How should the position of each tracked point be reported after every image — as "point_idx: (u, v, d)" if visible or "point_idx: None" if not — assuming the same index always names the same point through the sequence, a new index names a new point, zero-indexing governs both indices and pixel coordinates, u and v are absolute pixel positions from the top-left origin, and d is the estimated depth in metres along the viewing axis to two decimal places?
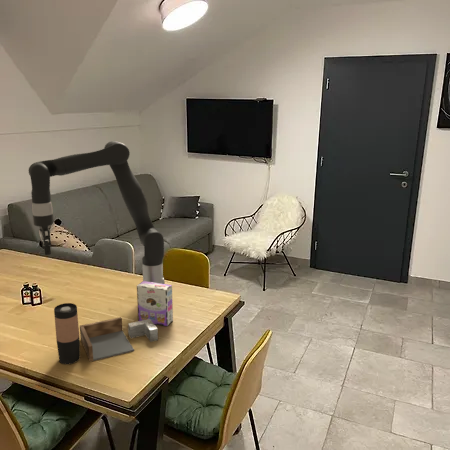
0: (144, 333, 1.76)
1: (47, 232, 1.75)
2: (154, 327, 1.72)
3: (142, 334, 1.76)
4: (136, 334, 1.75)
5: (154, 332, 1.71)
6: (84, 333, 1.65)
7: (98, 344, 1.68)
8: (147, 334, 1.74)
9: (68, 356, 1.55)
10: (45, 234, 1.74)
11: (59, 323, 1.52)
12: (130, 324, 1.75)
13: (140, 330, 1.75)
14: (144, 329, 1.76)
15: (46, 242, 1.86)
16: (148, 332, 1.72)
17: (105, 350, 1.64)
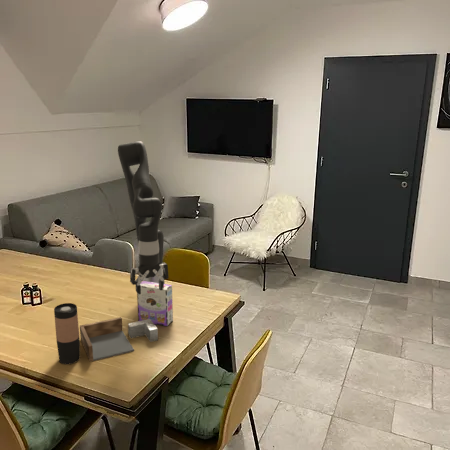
0: (144, 333, 1.76)
1: None
2: (154, 327, 1.72)
3: (142, 334, 1.76)
4: (136, 334, 1.75)
5: (154, 332, 1.71)
6: (84, 333, 1.65)
7: (98, 344, 1.68)
8: (147, 334, 1.74)
9: (68, 356, 1.55)
10: None
11: (59, 323, 1.52)
12: (130, 324, 1.75)
13: (140, 330, 1.75)
14: (144, 329, 1.76)
15: None
16: (148, 332, 1.72)
17: (105, 350, 1.64)
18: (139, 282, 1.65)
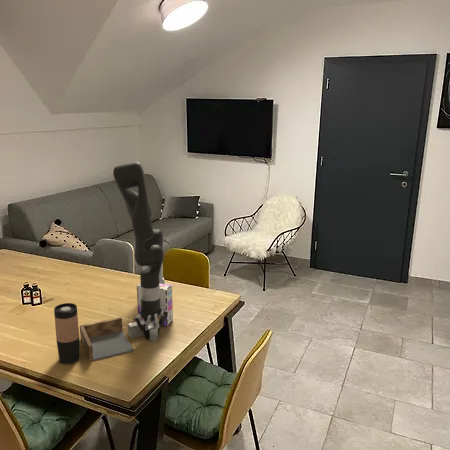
0: None
1: None
2: (154, 327, 1.72)
3: (142, 334, 1.76)
4: (136, 334, 1.75)
5: (154, 332, 1.71)
6: (84, 333, 1.65)
7: (98, 344, 1.68)
8: None
9: (68, 356, 1.55)
10: None
11: (59, 323, 1.52)
12: (130, 324, 1.74)
13: (140, 330, 1.75)
14: None
15: None
16: None
17: (105, 350, 1.64)
18: (146, 327, 1.71)
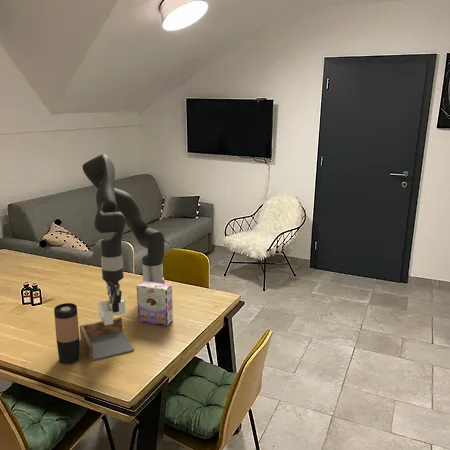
0: None
1: None
2: None
3: None
4: None
5: None
6: (84, 333, 1.65)
7: (98, 344, 1.68)
8: None
9: (68, 356, 1.55)
10: None
11: (59, 323, 1.52)
12: (107, 310, 1.57)
13: None
14: None
15: None
16: (119, 306, 1.65)
17: (105, 350, 1.64)
18: (118, 299, 1.63)
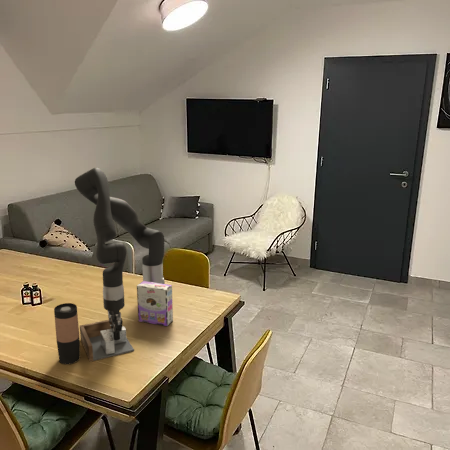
0: None
1: None
2: None
3: None
4: None
5: None
6: (84, 333, 1.65)
7: (98, 344, 1.68)
8: None
9: (68, 356, 1.55)
10: None
11: (59, 323, 1.52)
12: (108, 340, 1.60)
13: None
14: None
15: None
16: (121, 334, 1.68)
17: None
18: None
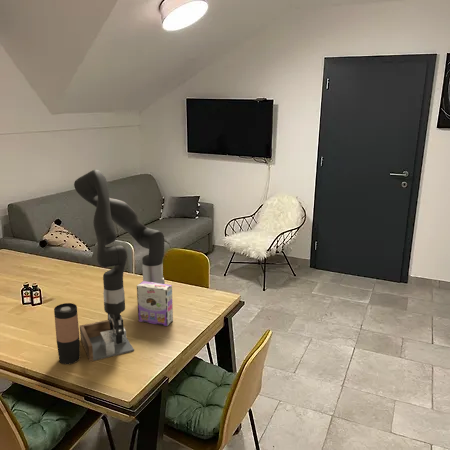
0: None
1: None
2: None
3: None
4: None
5: None
6: (84, 333, 1.65)
7: (98, 344, 1.68)
8: None
9: (68, 356, 1.55)
10: None
11: (59, 323, 1.52)
12: (108, 341, 1.60)
13: None
14: None
15: None
16: None
17: None
18: (122, 330, 1.64)
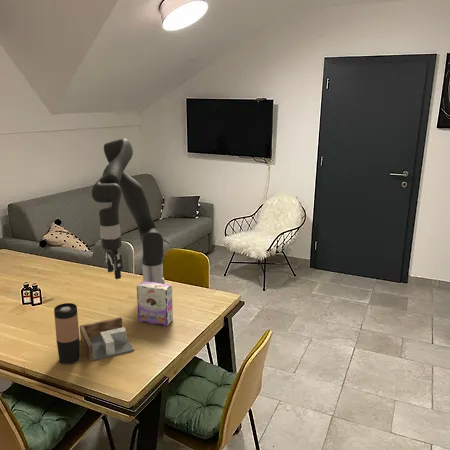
0: None
1: None
2: (120, 328, 1.70)
3: None
4: None
5: None
6: (84, 333, 1.65)
7: (98, 344, 1.68)
8: (117, 340, 1.68)
9: (68, 356, 1.55)
10: None
11: (59, 323, 1.52)
12: (108, 341, 1.60)
13: None
14: None
15: None
16: (121, 336, 1.68)
17: None
18: None
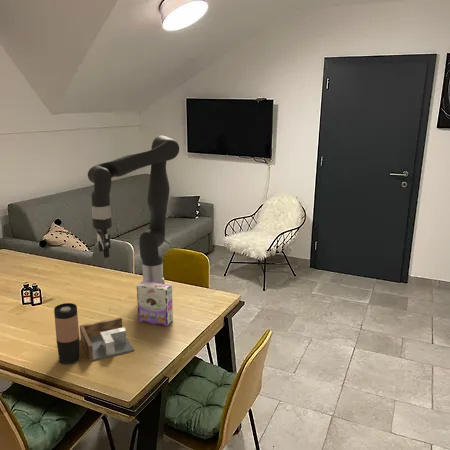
0: None
1: None
2: (120, 328, 1.70)
3: None
4: None
5: None
6: (84, 333, 1.65)
7: (98, 344, 1.68)
8: (117, 340, 1.68)
9: (68, 356, 1.55)
10: None
11: (59, 323, 1.52)
12: (108, 341, 1.60)
13: None
14: None
15: None
16: (121, 336, 1.68)
17: None
18: None
